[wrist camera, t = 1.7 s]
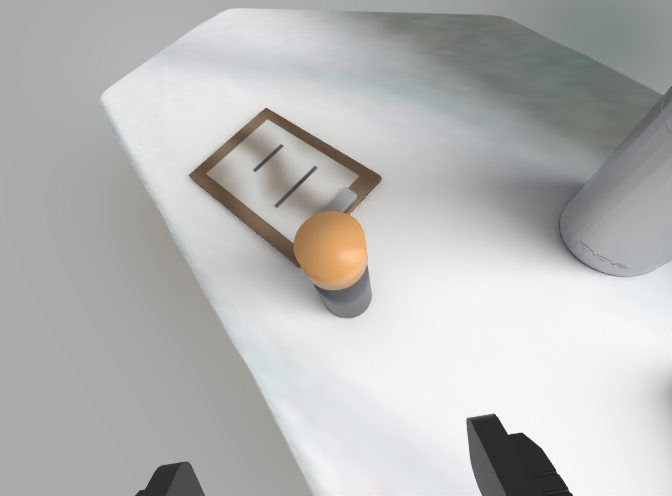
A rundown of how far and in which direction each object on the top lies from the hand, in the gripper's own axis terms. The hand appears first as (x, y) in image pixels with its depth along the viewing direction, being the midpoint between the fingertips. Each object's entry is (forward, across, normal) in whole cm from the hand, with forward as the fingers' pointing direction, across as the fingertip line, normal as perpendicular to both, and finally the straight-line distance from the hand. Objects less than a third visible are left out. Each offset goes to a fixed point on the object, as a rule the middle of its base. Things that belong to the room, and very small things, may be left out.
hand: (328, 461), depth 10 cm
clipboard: (+35, +6, -5) cm, 35 cm away
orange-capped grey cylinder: (+23, 0, +6) cm, 24 cm away
